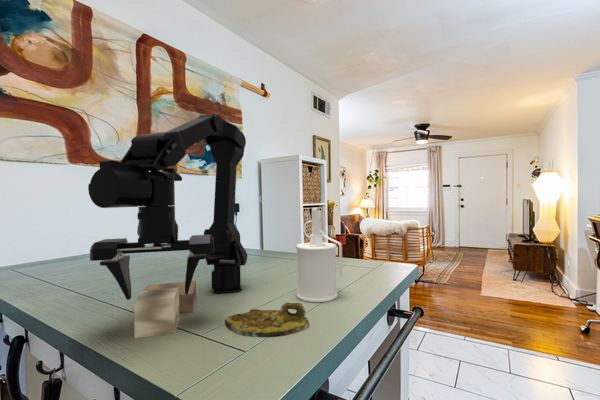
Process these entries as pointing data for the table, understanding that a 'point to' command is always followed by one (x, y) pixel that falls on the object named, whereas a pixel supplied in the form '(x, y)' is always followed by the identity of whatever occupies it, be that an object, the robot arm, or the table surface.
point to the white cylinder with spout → (317, 264)
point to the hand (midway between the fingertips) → (158, 296)
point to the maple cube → (156, 312)
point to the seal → (269, 321)
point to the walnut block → (180, 294)
